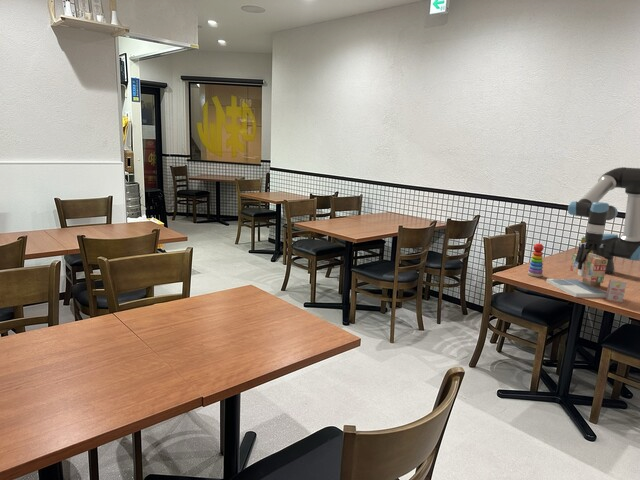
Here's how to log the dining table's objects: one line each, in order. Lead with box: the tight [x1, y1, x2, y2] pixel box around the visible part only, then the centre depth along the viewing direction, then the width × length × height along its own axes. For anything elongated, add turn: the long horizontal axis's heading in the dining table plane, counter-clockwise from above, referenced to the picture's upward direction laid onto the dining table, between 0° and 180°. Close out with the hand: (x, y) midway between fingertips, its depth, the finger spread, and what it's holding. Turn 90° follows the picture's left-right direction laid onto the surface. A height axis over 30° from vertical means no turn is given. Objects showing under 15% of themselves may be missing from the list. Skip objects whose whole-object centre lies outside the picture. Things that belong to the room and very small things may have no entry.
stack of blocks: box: [569, 253, 608, 284], centre depth 231 cm, size 21×6×12 cm, turn 176°
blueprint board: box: [545, 278, 607, 299], centre depth 232 cm, size 18×24×2 cm
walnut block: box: [581, 277, 602, 288], centre depth 242 cm, size 6×6×8 cm
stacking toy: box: [527, 243, 544, 278], centre depth 254 cm, size 8×8×19 cm
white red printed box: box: [605, 279, 627, 304], centre depth 217 cm, size 4×7×10 cm, turn 61°
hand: (586, 275), depth 231 cm, fingers closed on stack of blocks, 7 cm apart
